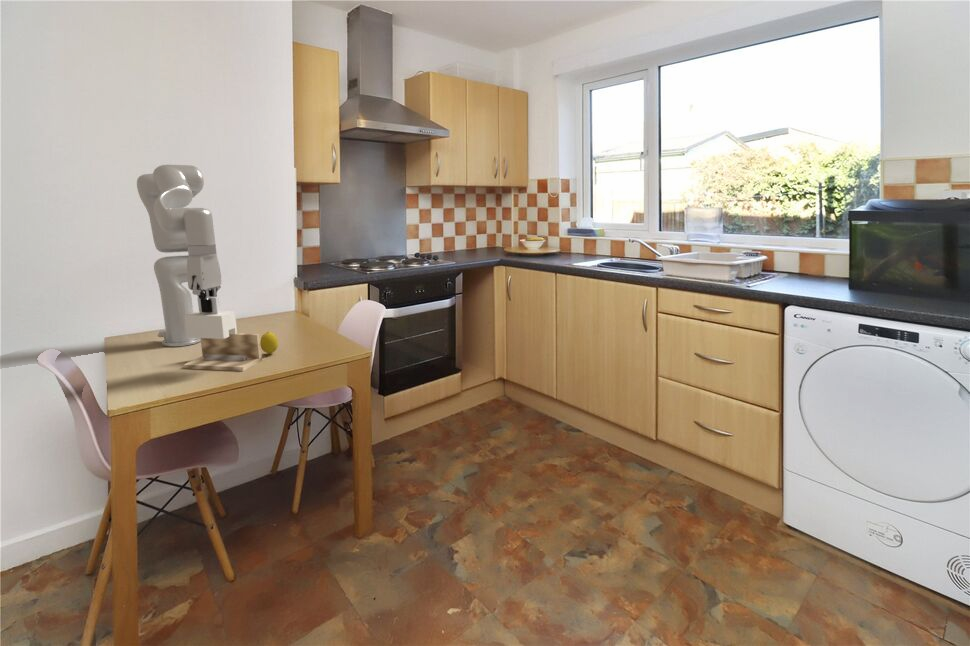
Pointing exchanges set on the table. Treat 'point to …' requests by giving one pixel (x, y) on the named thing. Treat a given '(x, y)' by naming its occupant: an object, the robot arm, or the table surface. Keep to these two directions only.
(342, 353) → the table surface
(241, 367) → the cleat board
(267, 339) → the lemon
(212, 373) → the table surface
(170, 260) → the robot arm
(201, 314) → the white stepped block
